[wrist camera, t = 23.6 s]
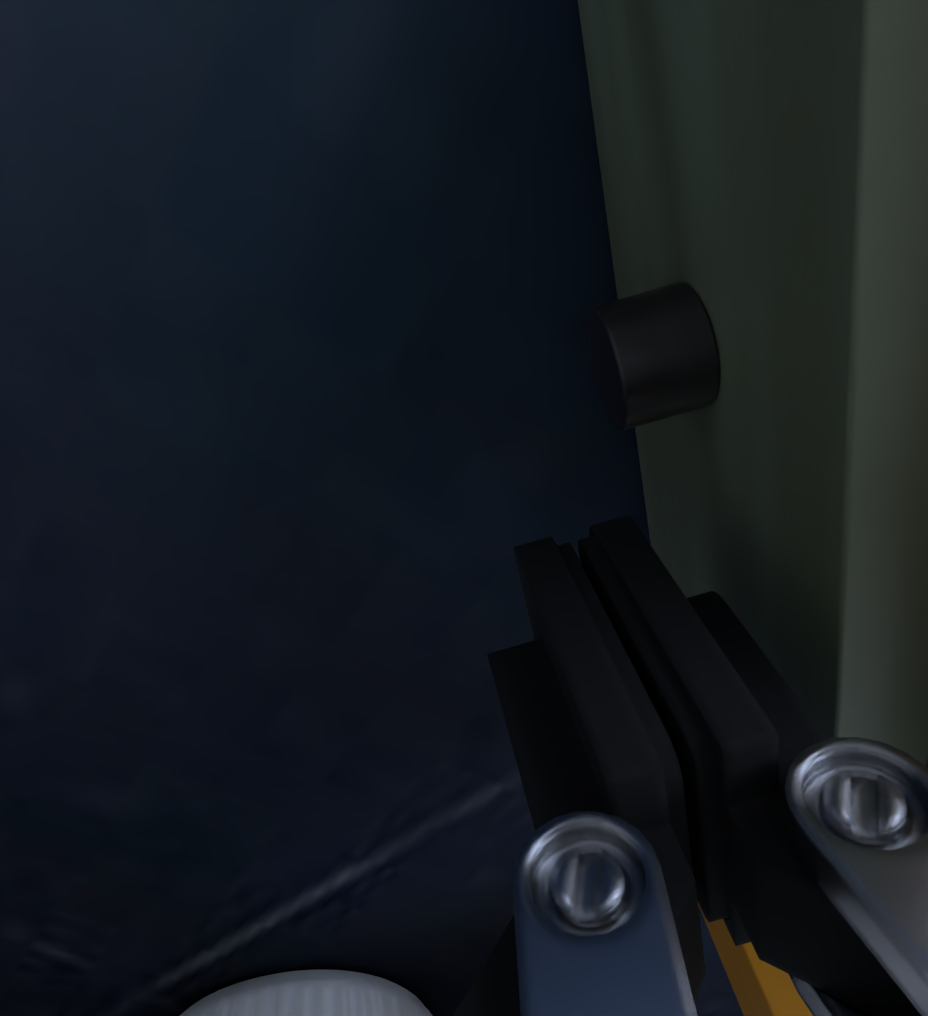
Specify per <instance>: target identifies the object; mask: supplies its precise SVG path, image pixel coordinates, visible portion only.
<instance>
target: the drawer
mask: <svg viewBox="0 0 928 1016" xmlns="http://www.w3.org/2000/svg"><path fill="white" fill-rule="evenodd" d="M578 7H579V15H580V22H581V29H582V37H583V44H584V52H585V59H586V67H587V74H588V82H589V89H590V96H591V104H592V111H593V119H594V126H595V134H596V141H597V149H598V156H599V163H600V171H601V178H602V186H603V193H604V201H605V208H606V216H607V223H608V230H609V238H610V245H611V253H612V260H613V268H614V275H615V283H616V290H617V297H618V300H615V301H611V302H608V303H604V304H601V305H597V306H594V307H592V308H591V309H589V310H588V312H587V316H586V341H587V349H588V355H589V360H590V365H591V369H592V373H593V377H594V380H595V384H596V387H597V390H598V393H599V396H600V399H601V401H602V404H603V406H604V409H605V411H606V413H607V415H608V417H609V418H610V420H611V421H612V423H613V424H614V426H615V427H616V428H617V429H619V430H627V429H630V428H634V427H635V431H636V439H637V446H638V454H639V461H640V469H641V476H642V483H643V491H644V498H645V506H646V513H647V521H648V528H649V536H650V543H651V547H652V548H653V549H654V551H655V552H656V554H657V555H658V557H659V558H660V560H661V561H662V563H663V564H664V566H665V567H666V569H667V570H668V572H669V573H670V575H671V576H672V577H673V579H674V580H675V582H676V583H677V585H678V586H679V588H680V589H681V591H682V592H683V594H684V595H685V597H686V598H688V597H692V596H695V595H699V594H703V593H706V592H710V591H714V592H716V593H718V594H719V595H720V596H721V597H722V598H723V599H724V601H725V602H726V603H727V605H728V606H729V607H730V609H731V610H732V611H733V613H734V614H735V615H736V617H737V618H738V619H739V621H740V622H741V623H742V625H743V626H744V627H745V629H746V630H747V631H748V633H749V634H750V635H751V637H752V638H753V639H754V641H755V642H756V643H757V645H758V646H759V647H760V649H761V650H762V651H763V653H764V654H765V655H766V657H767V658H768V659H769V661H770V662H771V663H772V665H773V666H774V667H775V669H776V670H777V672H778V673H779V674H780V676H781V677H782V678H783V680H784V681H785V682H786V684H787V685H788V686H789V688H790V689H791V690H792V692H793V693H794V694H795V696H796V697H797V698H798V700H799V701H800V702H801V704H802V705H803V706H804V708H805V709H806V710H807V712H808V713H809V714H810V716H811V717H812V718H813V720H814V721H815V722H816V724H817V725H818V726H819V728H820V729H821V730H822V732H823V733H824V734H825V736H826V737H827V738H828V739H831V738H837V737H860V738H865V739H870V740H875V741H880V742H884V743H886V744H888V745H891V746H893V747H895V748H898V749H900V750H902V751H905V752H907V753H908V754H910V755H911V756H912V757H914V758H915V759H917V760H918V761H919V762H921V763H922V764H924V765H925V766H926V767H927V764H928V0H578Z"/></svg>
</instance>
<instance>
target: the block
mask: <svg viewBox="0 0 928 1016" xmlns="http://www.w3.org/2000/svg"><path fill="white" fill-rule="evenodd" d="M698 905H699V903H698ZM699 907H700V905H699ZM700 910H701V908H700ZM701 912H702V910H701ZM702 915H703V917H704V920H705V922H706V924H707V927H708V929H709V932H710V934H711V937H712V939H713V941H714V944H715V946H716V949H717V951H718V954H719V956H720V958H721V961H722V963H723V966H724V968H725V971H726V973H727V976H728V978H729V980H730V983H731V985H732V988H733V990H734V993H735V995H736V997H737V1000H738V1002H739V1005H740V1007H741V1010H742V1012H743V1014H744V1016H813V1015H812V1013H811V1012H810V1010H809V1009H808V1007H807V1006H806V1004H805V1003H804V1001H803V1000H802V998H801V997H800V995H799V994H798V992H797V990H796V988H795V986H794V984H793V982H792V980H791V978H790V976H789V974H788V973H786V972H784V971H782V970H780V969H778V968H776V967H774V966H772V965H770V964H768V963H766V962H764V961H762V960H760V959H759V958H758V956H757V954H756V952H755V949H754V947H753V945H752V943H751V942H749V943H745V944H742V945H738V946H735V944H734V942H733V940H732V937H731V935H730V933H729V931H728V929H727V927H726V925H725V922H724V920H723V919H720V920H717V921H713V922H710V923H709V922H708V921H707V919H706V918H705V916H704V914H703V912H702Z"/></svg>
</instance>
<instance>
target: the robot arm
mask: <svg viewBox="0 0 928 1016" xmlns="http://www.w3.org/2000/svg"><path fill="white" fill-rule="evenodd" d="M589 534H590V537H588V538H584V539H580V540H578V548H579V554H580V560H581V562H580V560H579V558H578V557H577V555H576V553H575V551H574V549H573V547H572V545H571V543H565V544H562V545H558V546H557V545H556V542H555V541H554V539H553V537H548V538H544V539H541V540H537V541H534V542H530V543H526V544H523V545H519V546H516V547H514V552H515V557H516V562H517V566H518V570H519V575H520V579H521V583H522V587H523V592H524V596H525V600H526V605H527V609H528V613H529V617H530V622H531V626H532V630H533V635H534V639H535V641H531V642H528V643H524V644H521V645H517V646H514V647H510V648H507V649H503V650H500V651H496V652H492V653H489V654H488V658H489V662H490V666H491V669H492V673H493V677H494V680H495V684H496V688H497V691H498V695H499V699H500V702H501V706H502V710H503V713H504V717H505V721H506V724H507V728H508V732H509V735H510V739H511V743H512V747H513V750H514V754H515V758H516V761H517V765H518V769H519V772H520V776H521V780H522V783H523V787H524V791H525V794H526V798H527V802H528V805H529V809H530V813H531V816H532V820H533V824H534V827H535V832H534V833H533V834H532V835H531V837H530V838H529V839H528V840H527V841H526V842H525V843H524V845H523V846H522V849H521V851H520V853H519V856H518V858H517V860H516V862H515V865H514V875H513V885H512V889H513V904H514V916H513V918H512V920H511V921H510V923H509V924H508V926H507V928H506V929H505V931H504V933H503V934H502V936H501V938H500V939H499V941H498V942H497V944H496V946H495V947H494V949H493V951H492V952H491V954H490V956H489V957H488V959H487V960H486V962H485V964H484V965H483V967H482V969H481V970H480V972H479V974H478V975H477V977H476V979H475V980H474V982H473V983H472V985H471V987H470V988H469V990H468V992H467V993H466V995H465V997H464V998H463V1000H462V1001H461V1003H460V1005H459V1006H458V1008H457V1010H456V1011H455V1013H454V1015H453V1016H697V1012H696V1008H695V1004H694V1001H695V998H696V996H697V993H698V991H699V989H700V986H701V984H702V981H703V979H704V976H705V966H704V957H703V948H702V938H701V929H700V920H699V910H698V903H699V905H700V908H701V910H702V912H703V914H704V916H705V918H706V919H707V921H708V922H709V923H710V922H713V921H717V920H720V919H723V920H724V922H725V925H726V927H727V929H728V931H729V933H730V935H731V937H732V940H733V942H734V944H735V946H738V945H742V944H745V943H749V942H751V943H752V945H753V947H754V949H755V952H756V954H757V956H758V958H759V959H760V960H762V961H764V962H766V963H768V964H770V965H772V966H774V967H776V968H778V969H780V970H782V971H784V972H786V973H788V974H789V976H790V978H791V980H792V982H793V984H794V986H795V988H796V990H797V992H798V994H799V995H800V997H801V998H802V1000H803V1001H804V1003H805V1004H806V1006H807V1007H808V1009H809V1010H810V1012H811V1013H812V1015H813V1016H928V767H926V766H925V765H924V764H922V763H921V762H919V761H918V760H917V759H915V758H914V757H912V756H911V755H910V754H908V753H907V752H905V751H902V750H900V749H898V748H895V747H893V746H891V745H888V744H886V743H884V742H880V741H875V740H870V739H865V738H860V737H837V738H831V739H828V738H827V737H826V736H825V734H824V733H823V732H822V730H821V729H820V728H819V726H818V725H817V724H816V722H815V721H814V720H813V718H812V717H811V716H810V714H809V713H808V712H807V710H806V709H805V708H804V706H803V705H802V704H801V702H800V701H799V700H798V698H797V697H796V696H795V694H794V693H793V692H792V690H791V689H790V688H789V686H788V685H787V684H786V682H785V681H784V680H783V678H782V677H781V676H780V674H779V673H778V672H777V670H776V669H775V667H774V666H773V665H772V663H771V662H770V661H769V659H768V658H767V657H766V655H765V654H764V653H763V651H762V650H761V649H760V647H759V646H758V645H757V643H756V642H755V641H754V639H753V638H752V637H751V635H750V634H749V633H748V631H747V630H746V629H745V627H744V626H743V625H742V623H741V622H740V621H739V619H738V618H737V617H736V615H735V614H734V613H733V611H732V610H731V609H730V607H729V606H728V605H727V603H726V602H725V601H724V599H723V598H722V597H721V596H720V595H719V594H718V593H716V592H714V591H710V592H706V593H703V594H699V595H695V596H692V597H688V598H686V597H685V595H684V594H683V592H682V591H681V589H680V588H679V586H678V585H677V583H676V582H675V580H674V579H673V577H672V576H671V575H670V573H669V572H668V570H667V569H666V567H665V566H664V564H663V563H662V561H661V560H660V558H659V557H658V555H657V554H656V552H655V551H654V549H653V548H652V547H651V545H650V544H649V542H648V541H647V539H646V538H645V536H644V535H643V533H642V532H641V530H640V529H639V527H638V526H637V524H636V523H635V521H634V520H633V519H632V518H631V517H630V516H628V515H627V516H624V517H620V518H617V519H613V520H609V521H606V522H602V523H599V524H595V525H592V526H590V528H589Z"/></svg>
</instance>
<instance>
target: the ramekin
mask: <svg viewBox="0 0 928 1016" xmlns="http://www.w3.org/2000/svg"><path fill="white" fill-rule="evenodd" d="M180 1016H433V1015H432V1014H431V1013H430V1011H429V1010H428V1009H427V1008H426V1007H425V1006H424V1005H423V1003H422V1002H421V1001H420V1000H419V999H418V998H417V997H416V996H415V995H414V994H412V993H411V992H410V991H408V990H407V989H405V988H403V987H401V986H400V985H398V984H396V983H394V982H391V981H389V980H386V979H384V978H381V977H377V976H373V975H369V974H365V973H360V972H353V971H344V970H327V969H316V970H298V971H289V972H282V973H276V974H271V975H266V976H261V977H257V978H253V979H250V980H246V981H243V982H239V983H236V984H233V985H231V986H228V987H225V988H223V989H221V990H218V991H216V992H214V993H212V994H210V995H208V996H206V997H204V998H202V999H201V1000H199V1001H198V1002H196V1003H195V1004H193V1005H192V1006H191V1007H189V1008H188V1009H187V1010H185V1011H184V1012H183V1013H182V1014H181V1015H180Z"/></svg>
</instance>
